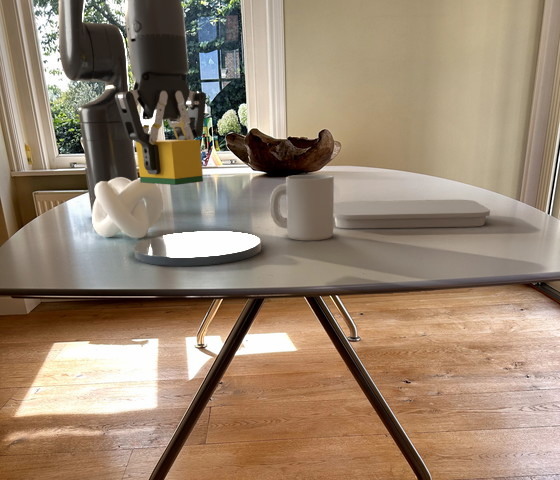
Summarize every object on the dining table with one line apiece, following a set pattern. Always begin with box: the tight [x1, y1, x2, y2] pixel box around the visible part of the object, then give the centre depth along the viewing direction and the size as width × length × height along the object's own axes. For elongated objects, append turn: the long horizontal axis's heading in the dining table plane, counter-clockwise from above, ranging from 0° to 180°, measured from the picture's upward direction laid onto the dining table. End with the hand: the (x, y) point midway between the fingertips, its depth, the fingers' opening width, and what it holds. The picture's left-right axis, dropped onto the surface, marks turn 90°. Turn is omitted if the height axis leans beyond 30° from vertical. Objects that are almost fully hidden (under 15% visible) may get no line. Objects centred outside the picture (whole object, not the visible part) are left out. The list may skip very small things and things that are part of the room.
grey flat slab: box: [333, 199, 491, 229], centre depth 104 cm, size 16×26×2 cm, turn 86°
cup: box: [269, 174, 335, 241], centre depth 92 cm, size 7×10×9 cm
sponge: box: [135, 139, 204, 186], centre depth 84 cm, size 8×5×6 cm, turn 48°
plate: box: [133, 231, 262, 267], centre depth 85 cm, size 18×18×1 cm
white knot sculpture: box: [91, 177, 164, 239], centre depth 96 cm, size 11×12×9 cm
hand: (170, 171), depth 84 cm, fingers closed on sponge, 5 cm apart
